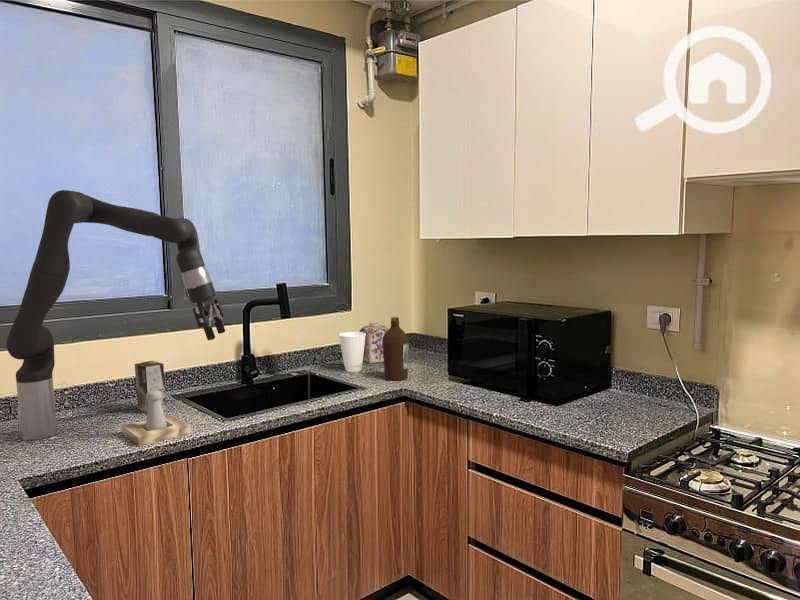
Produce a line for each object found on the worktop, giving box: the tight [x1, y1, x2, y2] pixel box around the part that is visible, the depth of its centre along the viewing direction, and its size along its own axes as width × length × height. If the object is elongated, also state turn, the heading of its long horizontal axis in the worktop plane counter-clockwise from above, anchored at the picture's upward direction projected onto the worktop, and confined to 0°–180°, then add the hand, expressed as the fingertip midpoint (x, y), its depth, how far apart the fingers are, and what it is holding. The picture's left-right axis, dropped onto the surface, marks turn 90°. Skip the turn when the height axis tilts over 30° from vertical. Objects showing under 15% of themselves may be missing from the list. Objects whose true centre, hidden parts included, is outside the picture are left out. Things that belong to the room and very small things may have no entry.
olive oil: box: [382, 316, 410, 382], centre depth 233 cm, size 11×11×25 cm
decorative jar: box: [358, 321, 390, 364], centre depth 270 cm, size 12×12×18 cm
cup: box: [338, 331, 366, 373], centre depth 250 cm, size 12×12×16 cm
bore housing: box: [121, 414, 192, 447], centre depth 172 cm, size 15×15×2 cm
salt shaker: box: [145, 390, 167, 431], centre depth 172 cm, size 6×6×13 cm
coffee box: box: [134, 360, 167, 414], centre depth 197 cm, size 9×6×16 cm
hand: (217, 336), depth 171 cm, fingers open, 8 cm apart
